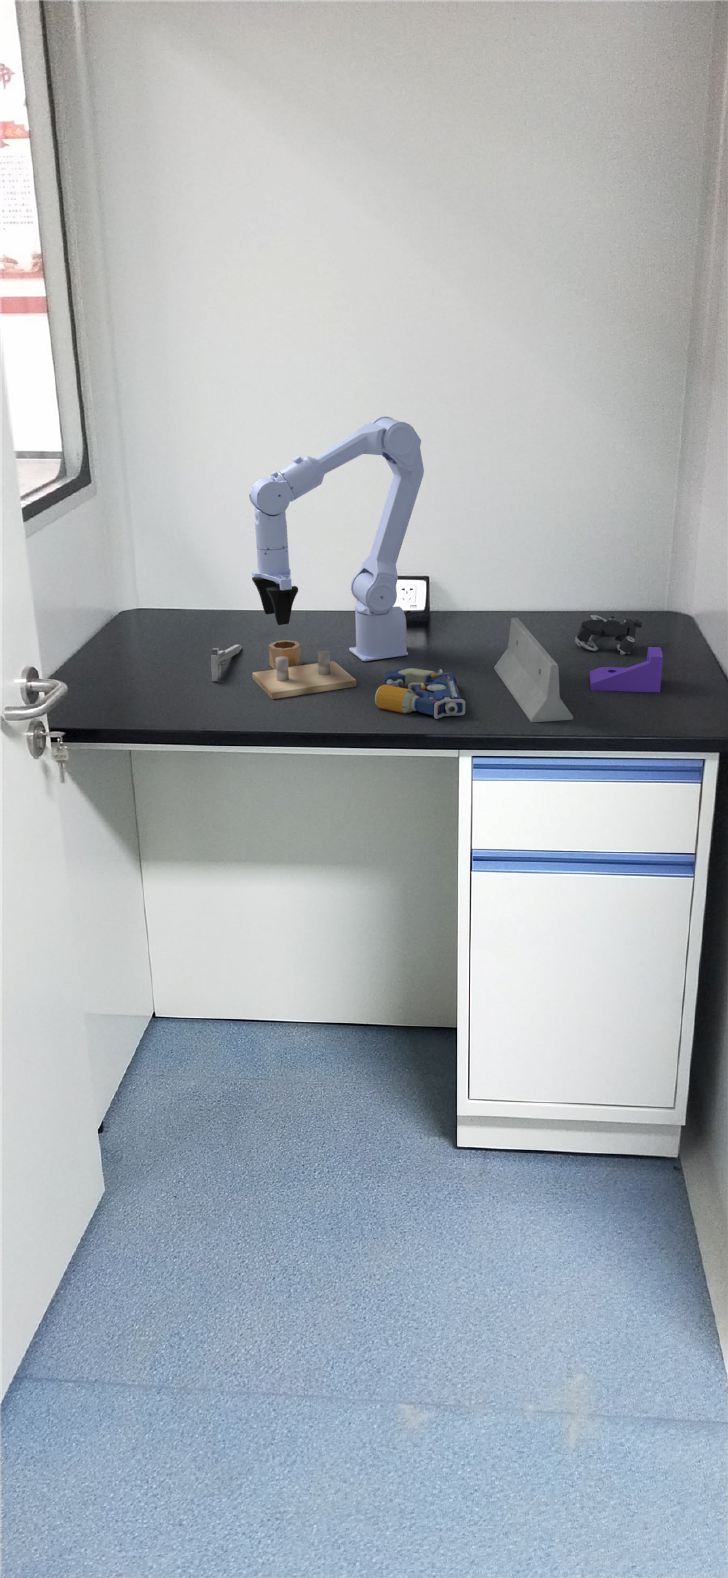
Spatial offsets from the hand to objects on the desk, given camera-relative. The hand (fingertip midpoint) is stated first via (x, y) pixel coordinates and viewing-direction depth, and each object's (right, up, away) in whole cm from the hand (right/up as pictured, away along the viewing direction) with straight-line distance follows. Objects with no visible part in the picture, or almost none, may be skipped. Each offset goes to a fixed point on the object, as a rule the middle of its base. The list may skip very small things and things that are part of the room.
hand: (276, 618), depth 220 cm
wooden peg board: (+5, -12, -5) cm, 14 cm away
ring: (+1, -8, +4) cm, 9 cm away
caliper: (-10, -8, +6) cm, 14 cm away
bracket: (+63, -14, -9) cm, 65 cm away
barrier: (+46, -15, -12) cm, 50 cm away
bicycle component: (+65, -4, +12) cm, 66 cm away
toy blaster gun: (+26, -17, -14) cm, 34 cm away
